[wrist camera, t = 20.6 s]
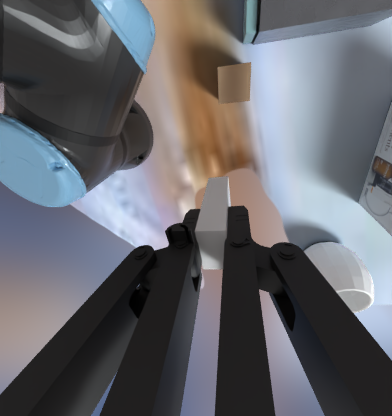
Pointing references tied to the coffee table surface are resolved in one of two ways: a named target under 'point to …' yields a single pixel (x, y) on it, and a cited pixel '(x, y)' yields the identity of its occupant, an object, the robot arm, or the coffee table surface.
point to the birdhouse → (250, 19)
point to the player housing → (316, 17)
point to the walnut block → (234, 83)
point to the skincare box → (380, 179)
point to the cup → (344, 273)
